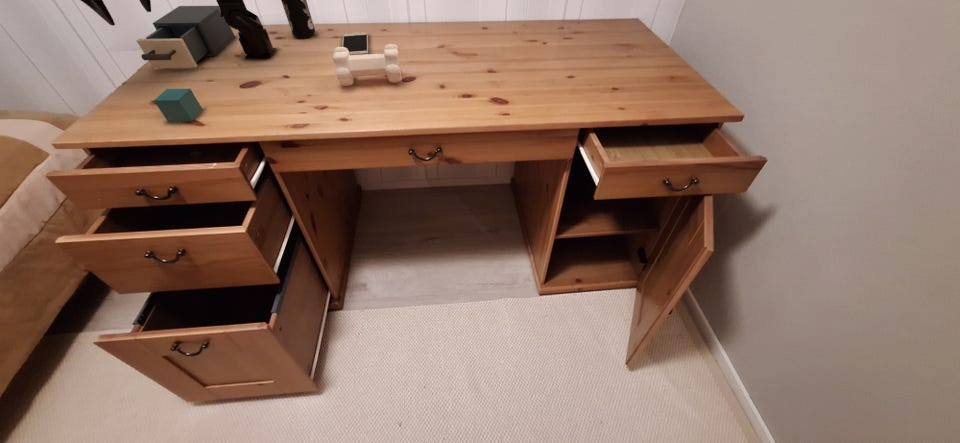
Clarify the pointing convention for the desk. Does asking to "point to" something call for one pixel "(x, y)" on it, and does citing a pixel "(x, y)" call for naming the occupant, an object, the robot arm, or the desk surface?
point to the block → (178, 105)
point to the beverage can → (299, 18)
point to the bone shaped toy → (367, 65)
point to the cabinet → (201, 25)
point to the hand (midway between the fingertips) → (131, 18)
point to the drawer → (174, 47)
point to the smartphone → (356, 43)
